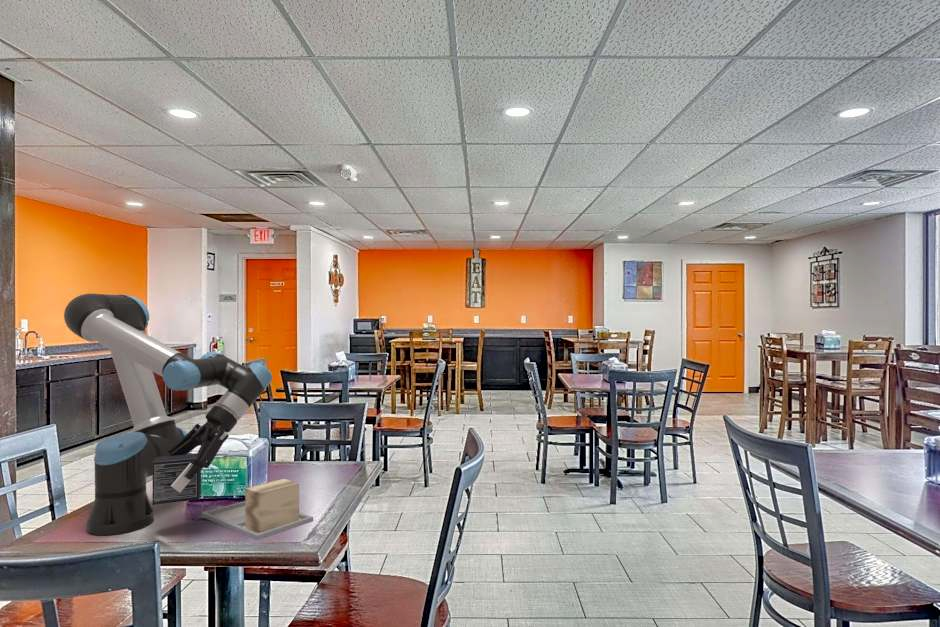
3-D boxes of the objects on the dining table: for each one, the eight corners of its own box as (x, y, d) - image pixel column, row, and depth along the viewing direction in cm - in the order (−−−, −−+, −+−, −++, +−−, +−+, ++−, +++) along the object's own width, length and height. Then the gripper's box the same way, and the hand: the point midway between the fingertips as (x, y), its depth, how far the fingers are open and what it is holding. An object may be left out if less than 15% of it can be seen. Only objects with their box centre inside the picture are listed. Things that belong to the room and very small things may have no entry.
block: (245, 528, 144) (245, 488, 144) (283, 516, 152) (283, 478, 152) (260, 534, 139) (260, 493, 140) (299, 521, 148) (299, 483, 148)
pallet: (201, 522, 153) (201, 512, 153) (255, 506, 165) (255, 497, 165) (257, 546, 136) (257, 535, 136) (313, 526, 148) (313, 517, 148)
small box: (201, 492, 147) (202, 452, 147) (199, 500, 141) (200, 457, 141) (155, 497, 143) (155, 455, 143) (151, 505, 137) (151, 461, 137)
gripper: (259, 426, 147) (198, 502, 135) (214, 416, 161) (155, 484, 149) (240, 408, 143) (175, 485, 131) (196, 400, 157) (134, 468, 145)
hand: (165, 485), depth 140 cm, fingers closed on small box, 10 cm apart
